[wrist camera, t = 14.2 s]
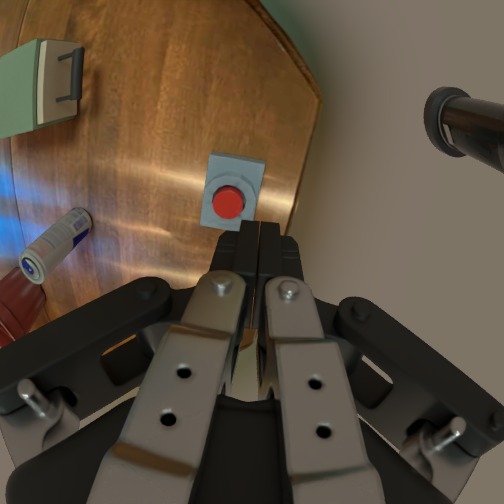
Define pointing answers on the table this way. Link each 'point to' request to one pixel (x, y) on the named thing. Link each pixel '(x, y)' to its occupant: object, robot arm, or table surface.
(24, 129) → the cabinet casing
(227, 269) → the robot arm
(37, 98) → the drawer
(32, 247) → the beverage can
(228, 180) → the control block
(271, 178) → the table surface
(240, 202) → the button
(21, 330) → the flower pot
